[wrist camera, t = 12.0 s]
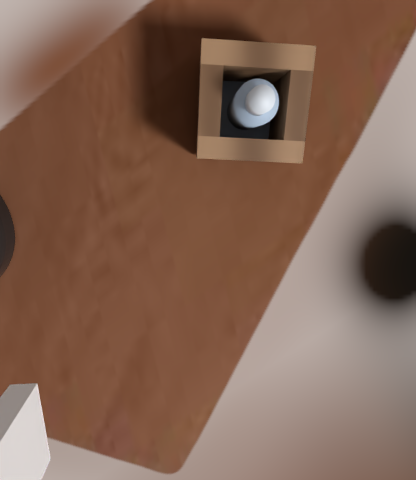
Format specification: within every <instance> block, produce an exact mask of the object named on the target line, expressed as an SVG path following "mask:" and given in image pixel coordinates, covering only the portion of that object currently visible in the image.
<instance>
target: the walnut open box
mask: <svg viewBox="0 0 416 480" xmlns="http://www.w3.org/2000/svg"><path fill="white" fill-rule="evenodd" d="M315 53H316V46H310V45H295V44H280V43H266V42H251V41H236V40H221V39H206V38H202V41H201V53H200V74H199V101H198V127H197V153H196V157H197V158H202V159H223V160H244V161H264V162H285V163H303V154H304V146H305V137H306V129H307V121H308V112H309V104H310V95H311V87H312V78H313V70H314V61H315ZM252 79H264V80H266V81H268V82H270V83H271V84H274V87H275V89H276V91H277V93H278V97H279V106H278V110H277V112H276V114H275V116H274V117H273V118H272V119H271V120H270V130H269V140H268V139H249V138H230V137H220V121H221V103H222V85H223V81H239V82H247V81H249V80H252Z"/></svg>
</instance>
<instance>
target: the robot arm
mask: <svg viewBox="0 0 416 480" xmlns="http://www.w3.org/2000/svg"><path fill="white" fill-rule="evenodd" d="M14 244H15V233H14V226H13V221H12V218H11V215H10V212H9V210H8V208H7V206H6V204H5V202H4V200H3V199H2V197H1V196H0V277H1V275H2V274H3V273H4V272H5V270H6V269H7V267H8V265H9V263H10V261H11V258H12V255H13V251H14ZM50 459H51V458H50V452H49V447H48V441H47V436H46V430H45V424H44V419H43V413H42V407H41V402H40V396H39V390H38V385H37V383H36V384H15V385H9V387H8V388H7V389H6V391H5V392H4V393H3V395H2V396H1V397H0V480H42V477H43V475H44V473H45V471H46V468H47V466H48V464H49V462H50Z"/></svg>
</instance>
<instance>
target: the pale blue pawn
mask: <svg viewBox="0 0 416 480" xmlns="http://www.w3.org/2000/svg"><path fill="white" fill-rule="evenodd" d="M278 106H279V97H278V93H277V91H276V89H275V87H274V86H273V85H272V84H271V83H270V82H268V81H266V80H264V79H252V80H249V81H247V82H239V81H223V85H222V103H221V121H220V137H230V138H249V139H268V138H269V130H270V120H271V119H272V118H273V117H274V116H275V114H276V112H277V110H278Z"/></svg>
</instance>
